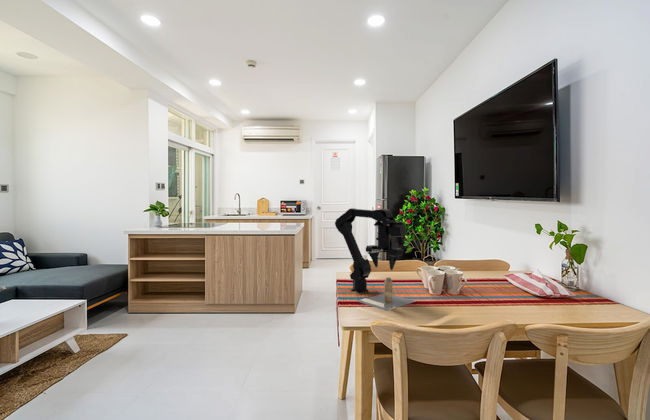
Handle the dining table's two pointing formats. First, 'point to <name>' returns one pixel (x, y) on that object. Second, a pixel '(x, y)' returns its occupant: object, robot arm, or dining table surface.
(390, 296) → the tan cylinder
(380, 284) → the dining table surface
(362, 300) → the subfloor board
